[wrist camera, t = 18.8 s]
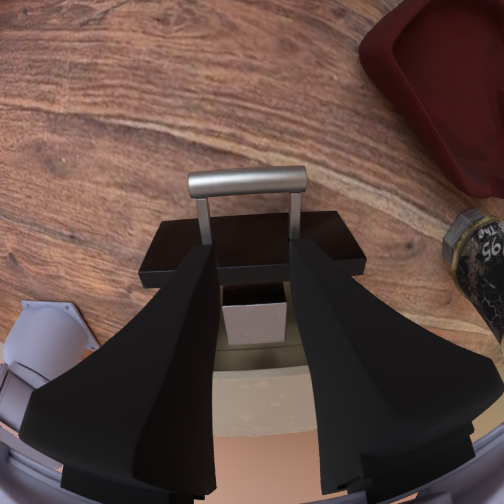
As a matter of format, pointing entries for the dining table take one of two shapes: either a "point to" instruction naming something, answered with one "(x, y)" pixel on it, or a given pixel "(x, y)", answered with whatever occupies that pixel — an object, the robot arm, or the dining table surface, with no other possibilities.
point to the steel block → (254, 313)
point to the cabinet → (262, 402)
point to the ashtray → (447, 84)
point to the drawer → (251, 251)
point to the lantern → (479, 265)
